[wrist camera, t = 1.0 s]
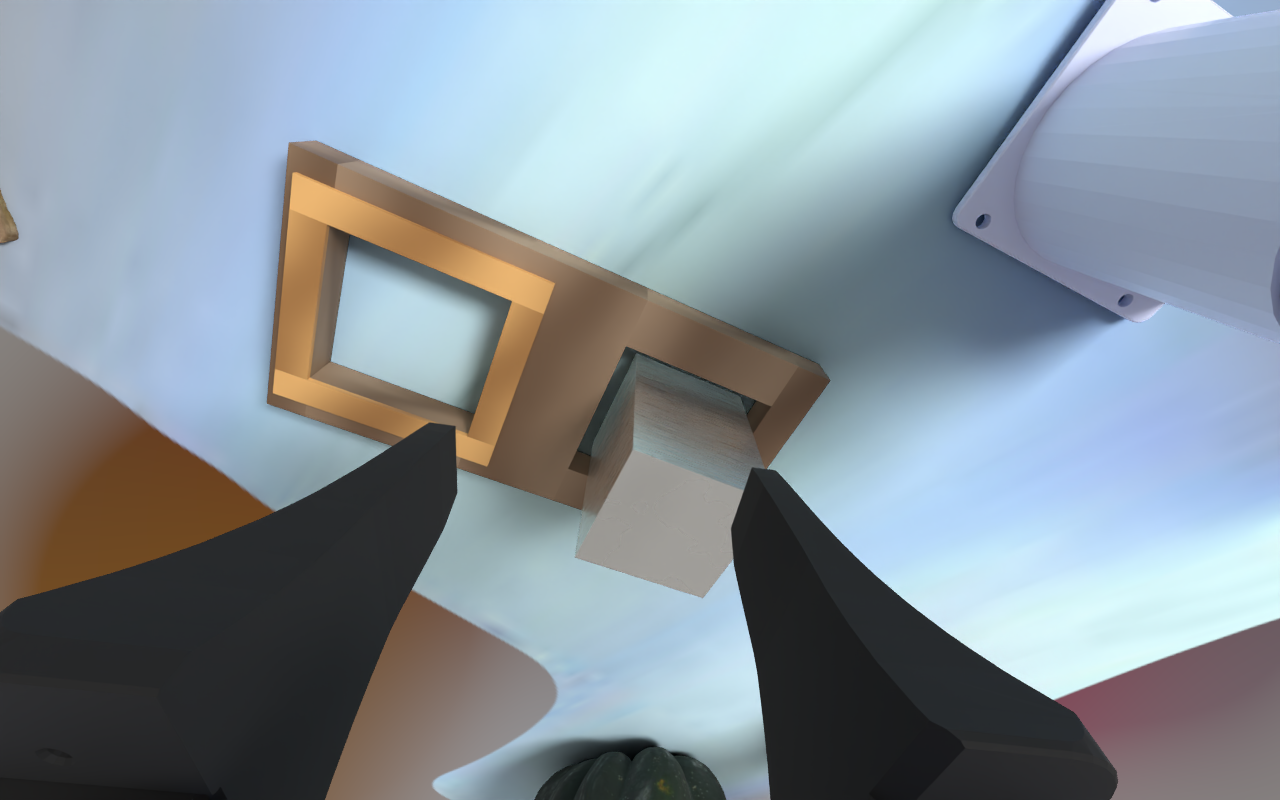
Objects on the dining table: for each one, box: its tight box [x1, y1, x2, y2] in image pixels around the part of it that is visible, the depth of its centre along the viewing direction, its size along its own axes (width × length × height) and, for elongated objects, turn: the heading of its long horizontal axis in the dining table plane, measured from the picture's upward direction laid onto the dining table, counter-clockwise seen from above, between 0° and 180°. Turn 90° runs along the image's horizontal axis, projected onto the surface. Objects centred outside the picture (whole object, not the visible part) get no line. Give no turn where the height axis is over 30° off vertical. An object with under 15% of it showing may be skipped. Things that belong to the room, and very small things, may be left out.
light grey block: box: [575, 353, 765, 598], centre depth 19 cm, size 5×5×7 cm
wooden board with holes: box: [267, 141, 830, 510], centre depth 21 cm, size 20×10×2 cm, turn 66°
